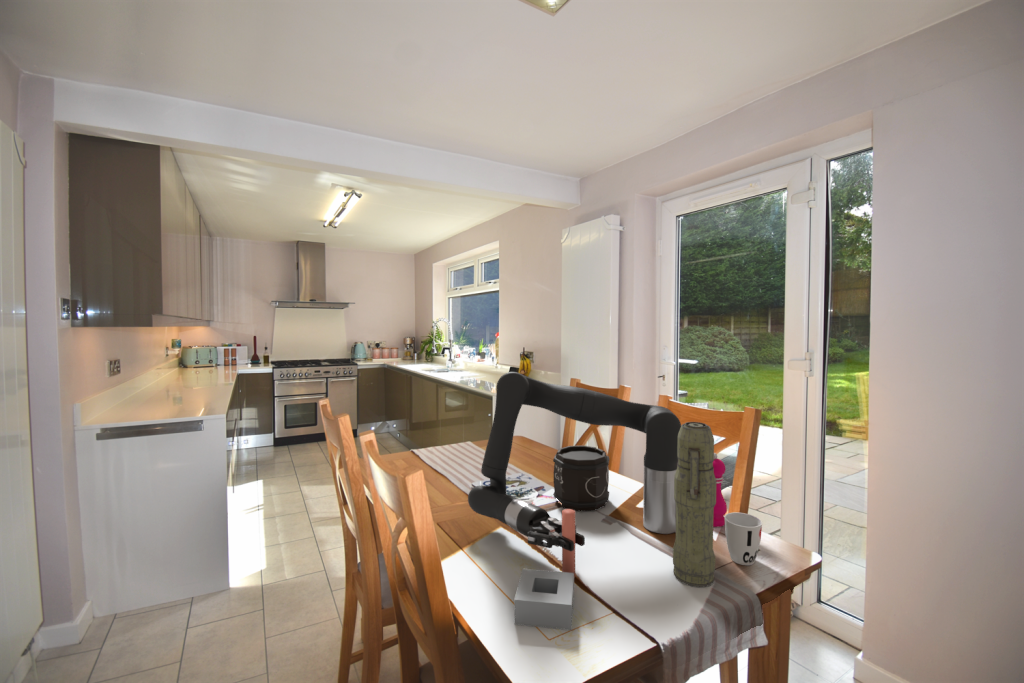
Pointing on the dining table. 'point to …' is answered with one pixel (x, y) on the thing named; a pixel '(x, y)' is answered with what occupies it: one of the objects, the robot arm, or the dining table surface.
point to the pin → (569, 533)
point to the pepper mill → (719, 494)
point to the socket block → (545, 599)
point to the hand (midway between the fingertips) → (578, 543)
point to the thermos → (694, 506)
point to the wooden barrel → (581, 477)
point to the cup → (743, 537)
